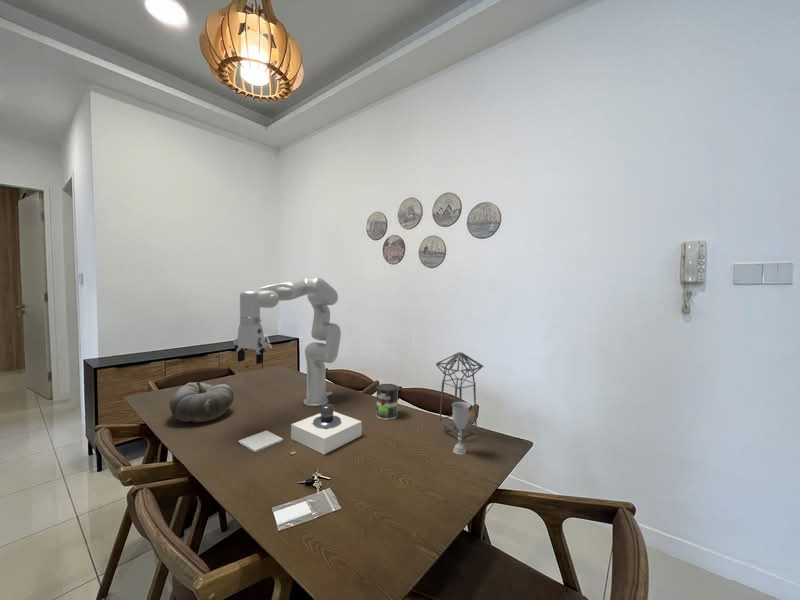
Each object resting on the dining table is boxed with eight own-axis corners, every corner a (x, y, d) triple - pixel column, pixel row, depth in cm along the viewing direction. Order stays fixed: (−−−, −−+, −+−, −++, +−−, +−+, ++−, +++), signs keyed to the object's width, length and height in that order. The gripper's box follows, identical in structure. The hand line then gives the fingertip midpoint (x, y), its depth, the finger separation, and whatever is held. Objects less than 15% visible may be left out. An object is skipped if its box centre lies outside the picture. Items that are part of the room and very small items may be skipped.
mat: (266, 432, 141) (266, 430, 141) (283, 440, 134) (283, 438, 134) (238, 442, 131) (238, 440, 131) (254, 452, 124) (254, 450, 124)
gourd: (177, 404, 163) (182, 370, 162) (233, 406, 172) (238, 374, 171) (160, 430, 140) (166, 391, 139) (225, 432, 149) (232, 395, 147)
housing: (329, 422, 152) (329, 409, 151) (361, 435, 140) (361, 421, 139) (291, 438, 136) (291, 424, 135) (324, 454, 124) (324, 438, 123)
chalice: (457, 457, 124) (458, 409, 123) (446, 449, 130) (447, 403, 129) (472, 453, 127) (474, 406, 126) (461, 445, 133) (463, 400, 132)
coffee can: (392, 421, 154) (393, 391, 154) (372, 417, 158) (372, 388, 158) (400, 413, 164) (401, 385, 163) (381, 410, 168) (382, 382, 167)
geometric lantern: (457, 444, 133) (460, 358, 132) (431, 430, 146) (433, 351, 144) (483, 434, 143) (486, 353, 141) (457, 422, 155) (459, 347, 153)
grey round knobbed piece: (328, 427, 145) (328, 399, 145) (346, 435, 139) (346, 405, 138) (307, 436, 137) (307, 406, 136) (325, 445, 130) (325, 413, 129)
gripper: (273, 321, 138) (273, 362, 139) (241, 319, 144) (241, 358, 145) (260, 323, 131) (260, 366, 132) (226, 320, 137) (227, 362, 138)
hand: (250, 362), depth 139 cm, fingers open, 9 cm apart
